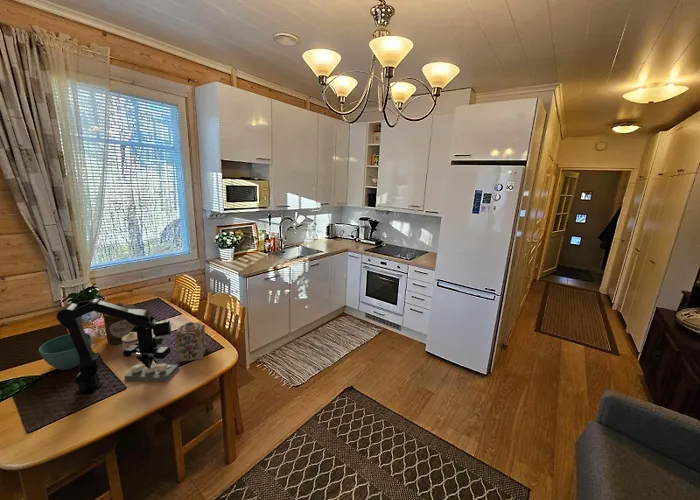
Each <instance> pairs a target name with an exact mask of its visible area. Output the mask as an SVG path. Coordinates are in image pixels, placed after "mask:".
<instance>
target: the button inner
mask: <svg viewBox="0 0 700 500" xmlns="http://www.w3.org/2000/svg"><path fill="white" fill-rule="evenodd" d="M131 370H132V372H133V373H139V372H140V371H142V365H141V364H139V363H138V364H135V365H133V366H132V367H131Z"/></svg>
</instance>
